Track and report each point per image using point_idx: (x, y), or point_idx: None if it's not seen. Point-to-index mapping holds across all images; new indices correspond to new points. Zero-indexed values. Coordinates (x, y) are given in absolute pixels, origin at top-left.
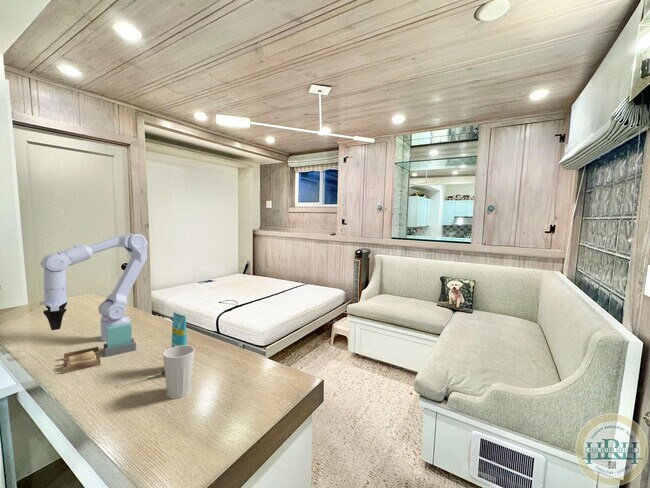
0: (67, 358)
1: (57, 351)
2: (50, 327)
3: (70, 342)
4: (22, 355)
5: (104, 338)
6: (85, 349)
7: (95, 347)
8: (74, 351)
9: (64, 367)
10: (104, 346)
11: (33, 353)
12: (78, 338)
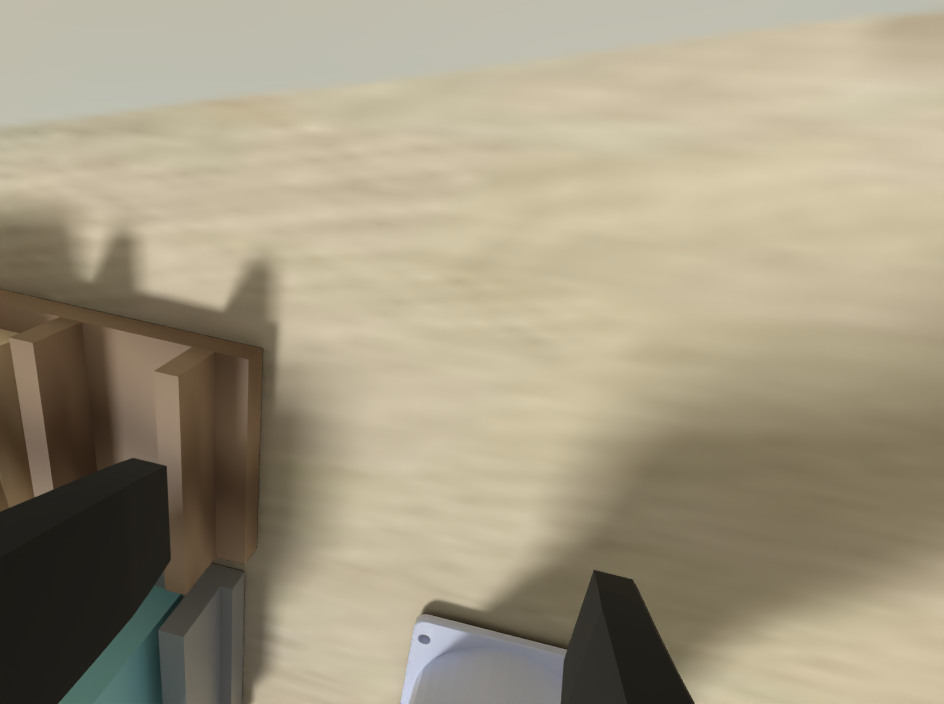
0: (22, 367)
1: (579, 361)
2: (77, 480)
3: (769, 499)
4: (777, 74)
5: (442, 686)
6: (173, 517)
7: (176, 576)
8: (179, 448)
9: (16, 313)
10: (168, 619)
11: (736, 179)
12: (834, 574)
